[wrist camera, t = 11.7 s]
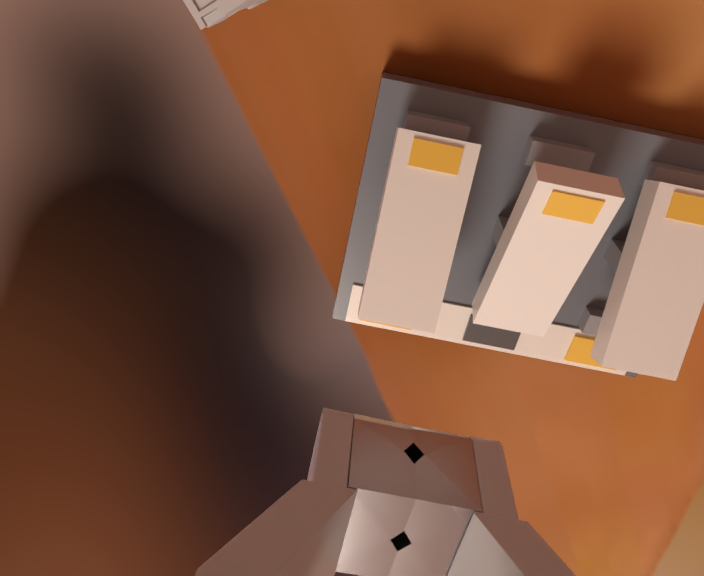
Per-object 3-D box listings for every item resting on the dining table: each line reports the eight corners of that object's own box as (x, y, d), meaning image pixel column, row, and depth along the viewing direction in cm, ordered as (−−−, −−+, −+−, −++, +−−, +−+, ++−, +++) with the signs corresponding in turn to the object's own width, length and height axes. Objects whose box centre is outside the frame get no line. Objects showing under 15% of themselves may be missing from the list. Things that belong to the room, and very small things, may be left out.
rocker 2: (534, 160, 36) (538, 181, 34) (618, 178, 36) (625, 199, 34) (472, 302, 44) (472, 324, 42) (540, 316, 44) (543, 338, 43)
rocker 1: (396, 127, 38) (398, 127, 36) (475, 143, 38) (481, 144, 36) (358, 309, 41) (357, 319, 39) (431, 323, 41) (434, 334, 39)
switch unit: (382, 71, 40) (380, 85, 36) (736, 146, 41) (773, 168, 37) (334, 304, 49) (328, 336, 45) (627, 362, 50) (647, 398, 46)
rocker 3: (644, 179, 39) (661, 181, 37) (720, 195, 39) (741, 198, 37) (590, 355, 42) (602, 367, 40) (661, 369, 42) (676, 381, 40)
